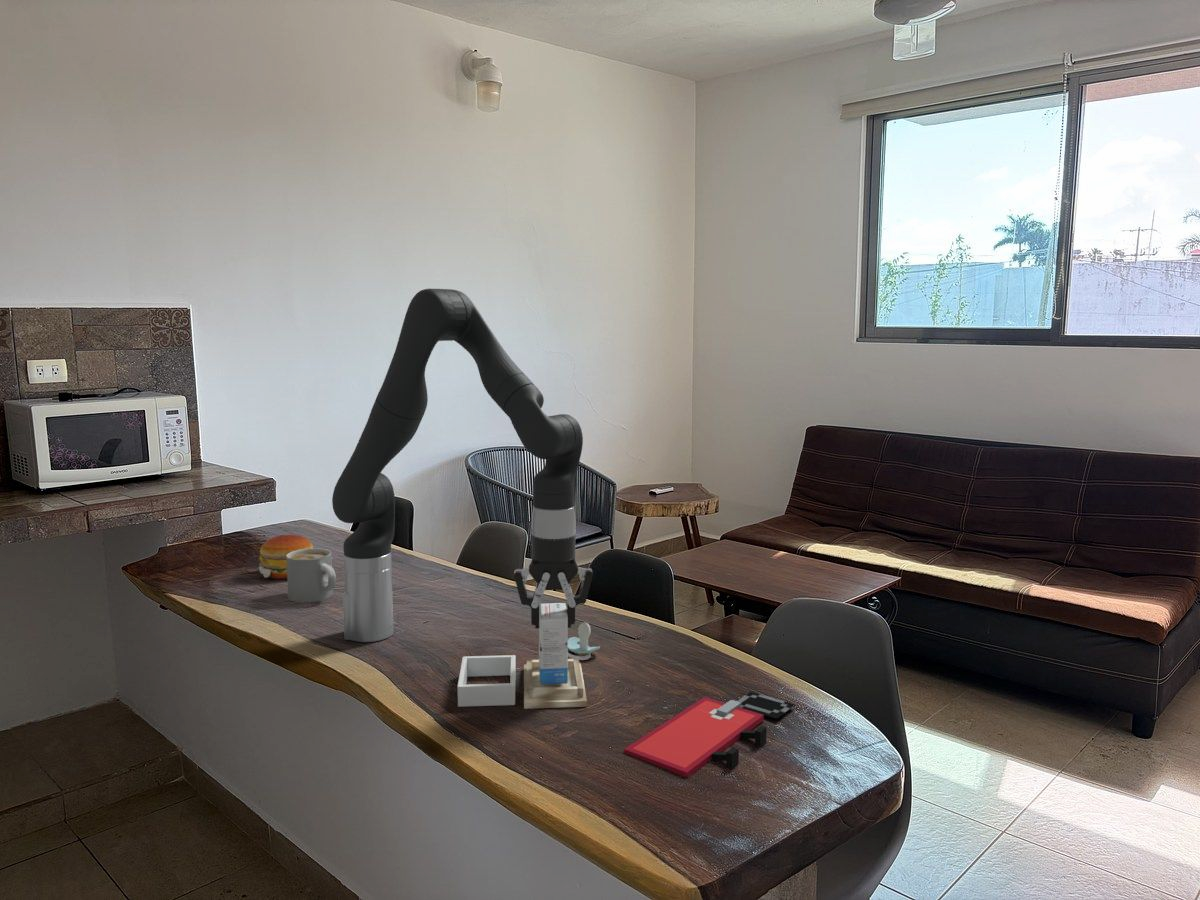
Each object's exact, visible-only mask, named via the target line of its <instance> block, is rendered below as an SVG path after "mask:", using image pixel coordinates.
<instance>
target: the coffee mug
mask: <svg viewBox="0 0 1200 900" xmlns="http://www.w3.org/2000/svg"><path fill="white" fill-rule="evenodd" d="M286 563H287V578H286V579H287V581H286V582H287V598H288V600H290V601H292V602H294V603H315V602H316V603H317V602H321V601H325V600H328V599H329V598H330V599H331V598H332V597H333V595H334V589H335V587H336V583H337V577H336V576H337V575H336V572H335V569H334V567H333V555H332V551H331V550H330V549H326V548H318V547H317V548H315V547H313V548H310V549H301V550H296V551H293V552H290V553H288V554H287V555H286Z"/></svg>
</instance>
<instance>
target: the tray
mask: <svg viewBox="0 0 1200 900" xmlns="http://www.w3.org/2000/svg"><path fill="white" fill-rule="evenodd" d="M578 707H579V708H581V707H586V708H587V707H588V698H587V693H586V687H585V681H584V675H583V670H582V664H581V662H580V660H579V659H571V658H568V683H567V684H540V674H539V659H527V660H526V664H523V709H525V710H527V709H549V708H550V709H551V708H553V709H554V708H578Z"/></svg>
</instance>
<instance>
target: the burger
mask: <svg viewBox="0 0 1200 900" xmlns="http://www.w3.org/2000/svg"><path fill="white" fill-rule="evenodd" d="M310 548H314V546H313V543H312V542H311V541H310V540H309V539H308V538H307V537H305V536H302V535H299V534H293V533H292V534H290V533H289V534H281V535H276V536H273V537H271V538H269V539H267V540H266V541H265V542H264V543H263V544H262V545H261V547H260V549H259V550H260V551H259V552H260V553H258V555H259V557H258V558H259V559H258V560H259V564H258V565H259V566H258V570H259V573H260V575H262V576H263V578H271V579H287V563H286V555H287V554H288V553H290V552H293V551H296V550H301V549H310Z"/></svg>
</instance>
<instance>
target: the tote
mask: <svg viewBox="0 0 1200 900" xmlns="http://www.w3.org/2000/svg"><path fill="white" fill-rule="evenodd" d="M516 658H517V657H516V655H515V654H510V655H509V654H507V655H506V654H505V655H473V656H471V655H470V656H469V655H468V656H462V658H461V659H462V660H461V666H460V671H459V676H458V682H457V708H459V707H487V706H489V707H490V706H514V705H516V683H517V682H516V680H517V678H516V676H517V675H516V673H517V671H516V669H517V666H516V662H517V661H516V660H517V659H516ZM492 676H494V677H495V676H496V677H497V676H498V677H500V676H501V677H502V676H510V677H509V678H510V679H509V680H510V681H509V682H510V683H509V682H506V683H504V682H503V683H479V684H478V683H476V684H475V683H474V684H473V683H472V684H470V683H469V684H467V681H468V677H492Z"/></svg>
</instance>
